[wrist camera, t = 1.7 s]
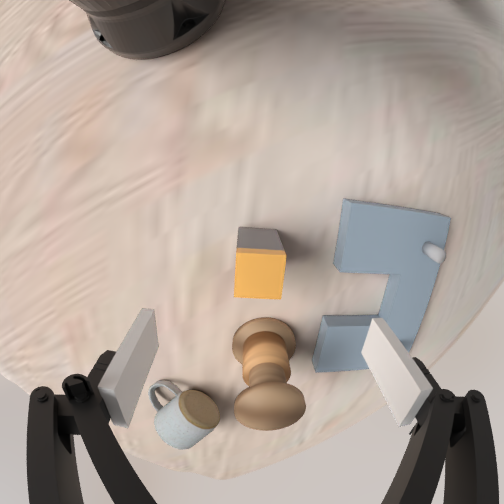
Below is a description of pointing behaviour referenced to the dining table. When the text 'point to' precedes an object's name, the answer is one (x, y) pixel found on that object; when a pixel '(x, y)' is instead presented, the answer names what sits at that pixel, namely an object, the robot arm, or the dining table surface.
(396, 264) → the board
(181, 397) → the ceramic mug
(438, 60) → the dining table surface
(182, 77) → the dining table surface
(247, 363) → the bobbin
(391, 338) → the robot arm
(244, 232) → the orange and grey block
